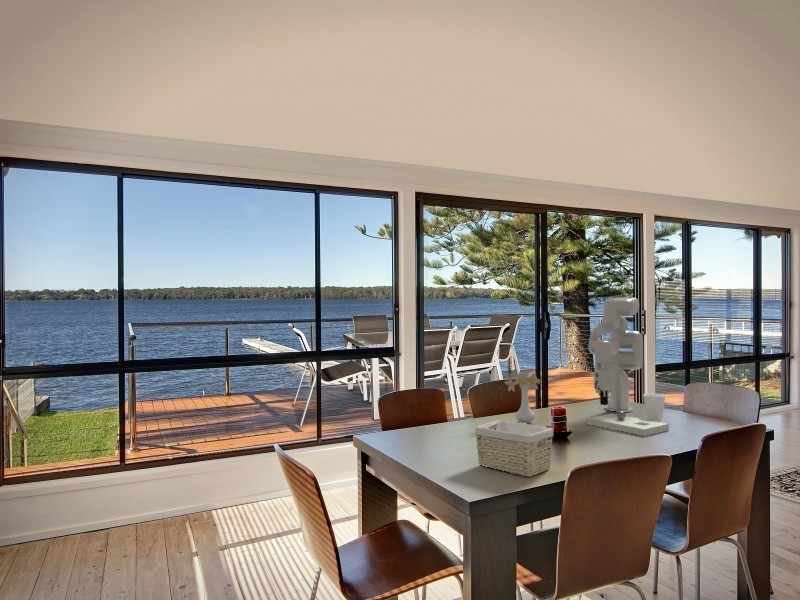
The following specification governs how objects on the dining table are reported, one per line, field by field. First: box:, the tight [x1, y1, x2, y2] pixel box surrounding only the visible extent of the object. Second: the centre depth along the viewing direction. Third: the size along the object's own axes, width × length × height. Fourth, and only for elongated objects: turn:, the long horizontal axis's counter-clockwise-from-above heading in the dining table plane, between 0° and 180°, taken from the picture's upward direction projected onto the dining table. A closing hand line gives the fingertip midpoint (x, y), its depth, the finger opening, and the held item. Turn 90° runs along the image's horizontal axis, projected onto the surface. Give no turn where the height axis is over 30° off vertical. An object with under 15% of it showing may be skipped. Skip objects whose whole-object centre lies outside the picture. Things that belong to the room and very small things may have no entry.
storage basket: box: [474, 419, 554, 478], centre depth 200 cm, size 24×16×15 cm
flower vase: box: [504, 370, 541, 424], centre depth 272 cm, size 13×18×25 cm
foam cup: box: [643, 392, 666, 423], centre depth 268 cm, size 10×9×13 cm
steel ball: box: [616, 411, 627, 420], centre depth 261 cm, size 4×4×4 cm
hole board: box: [586, 413, 670, 437], centre depth 258 cm, size 30×18×3 cm, turn 33°
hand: (604, 404), depth 268 cm, fingers closed
